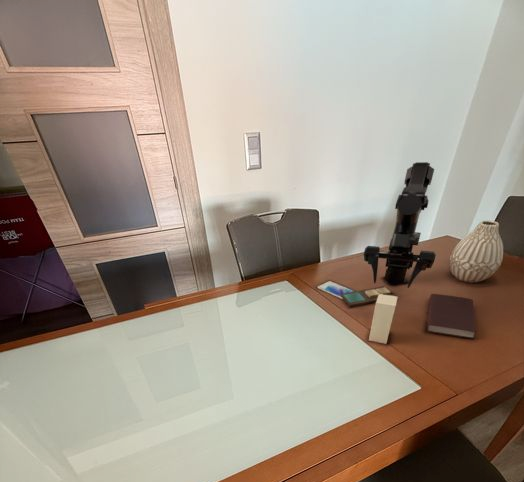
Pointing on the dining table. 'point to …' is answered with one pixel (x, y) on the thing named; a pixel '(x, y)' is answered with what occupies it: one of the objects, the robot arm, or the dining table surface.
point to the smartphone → (334, 288)
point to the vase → (478, 253)
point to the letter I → (382, 318)
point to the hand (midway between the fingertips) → (391, 285)
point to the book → (451, 316)
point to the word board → (364, 296)
